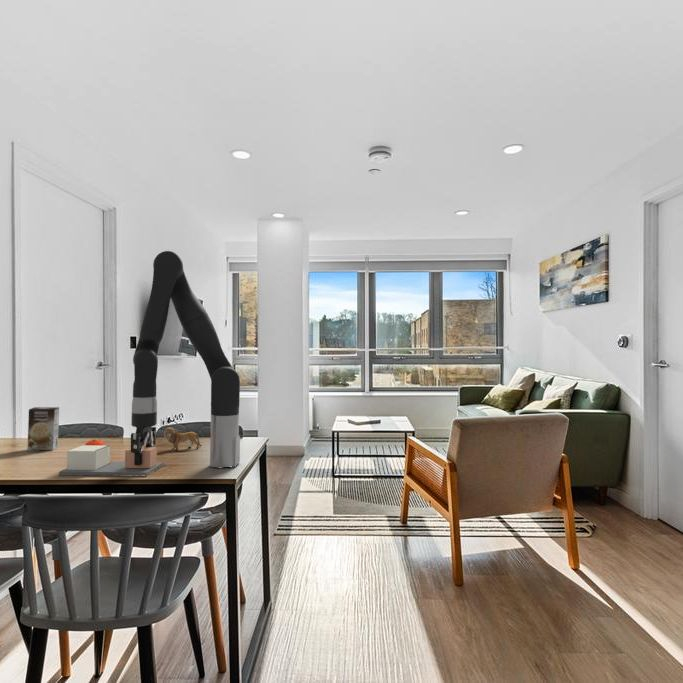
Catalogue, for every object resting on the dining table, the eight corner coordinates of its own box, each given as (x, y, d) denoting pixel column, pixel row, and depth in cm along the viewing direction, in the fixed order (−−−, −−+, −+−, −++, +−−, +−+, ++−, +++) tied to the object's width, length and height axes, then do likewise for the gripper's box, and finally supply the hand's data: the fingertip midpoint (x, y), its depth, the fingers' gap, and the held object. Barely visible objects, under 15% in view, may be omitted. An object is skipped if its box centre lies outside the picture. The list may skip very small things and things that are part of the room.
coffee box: (26, 451, 180) (27, 409, 181) (32, 448, 187) (33, 407, 187) (53, 450, 183) (54, 408, 183) (58, 447, 189) (59, 406, 189)
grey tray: (163, 465, 160) (164, 444, 160) (146, 476, 146) (147, 453, 146) (83, 464, 160) (84, 443, 161) (58, 475, 146) (59, 452, 147)
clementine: (91, 456, 173) (91, 436, 174) (110, 456, 173) (110, 436, 174) (78, 461, 165) (79, 440, 166) (98, 461, 165) (99, 440, 166)
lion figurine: (165, 452, 181) (165, 428, 181) (162, 450, 186) (162, 426, 186) (204, 448, 189) (204, 425, 189) (200, 446, 194) (200, 424, 194)
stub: (156, 464, 156) (156, 447, 156) (150, 468, 151) (150, 450, 151) (131, 464, 156) (132, 447, 156) (124, 468, 151) (125, 450, 151)
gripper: (146, 413, 147) (145, 468, 146) (164, 408, 161) (163, 457, 160) (122, 413, 147) (121, 467, 146) (142, 408, 161) (141, 457, 161)
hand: (143, 462), depth 153 cm, fingers open, 7 cm apart
